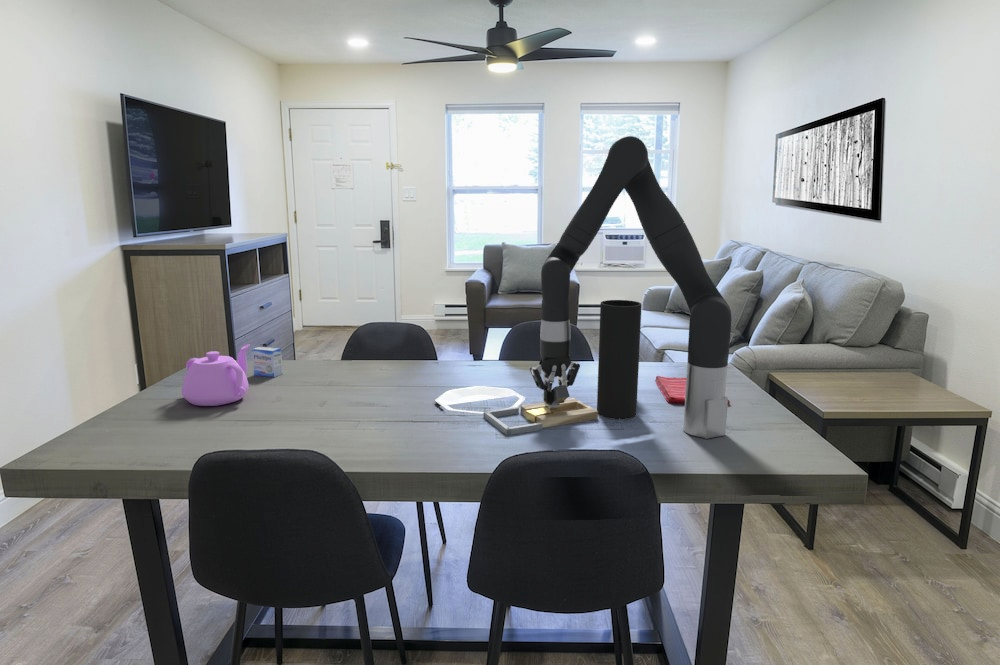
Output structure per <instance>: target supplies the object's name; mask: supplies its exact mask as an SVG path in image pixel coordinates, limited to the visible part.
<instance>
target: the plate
mask: <svg viewBox="0 0 1000 665" xmlns="http://www.w3.org/2000/svg"><path fill="white" fill-rule="evenodd" d="M509 397H517V398H518V400H517V401H516V402H514V404H513V405H512V406H510V407H509V408H513V407H518V408H519V407H521V405H522V403H524V401H525V400H526V397H525V396H523V395H522V394H520V393H518V392H517V391H514V390H512V389H511V388H506V387H493V386H486V385H485V386H483V385H475V386H474V385H473V386H468V387H467V386H466V387H461V388H454V389H449V390H446V391H445V392H444V393H442V394H441V395H439V396H438V397H437V398H435V399H434V400H435V403H436V404H438V405H439V406H440V407H443V409H444V408H445V410H447V411H448V412H458V413H465V414H466V413H467V414H475V415H484V412H485V411H476V410H475V411H474V410H465V409H457V408H456V409H455V408H452V407H451V405H457V404H465V403H471V402H481V401H485V400H493V399H494V400H495V399H500V398H501V399H502V398H509ZM500 409H501V408H500ZM500 409H498V410H500ZM504 409H506V408H504Z"/></svg>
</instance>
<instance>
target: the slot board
mask: <svg viewBox="0 0 1000 665" xmlns="http://www.w3.org/2000/svg"><path fill="white" fill-rule="evenodd" d="M559 406H560V407H558V408H557V409H556V410H553V411H555V413H554V414H547V415H541V416H537V423H542V429H543V428H550V427H556V426H563V425H567V424H574V423H581V422H587V421H593V420H598V419H599V415H598V411H597V409H595V408H593V407H592V406H589V405H588V404H585V403H584V402H582V401H580V400H579V399H576V398H575V397H572V398H570V397H569V398H567V399H566V400H564V403H560V404H559ZM544 407H545V404H544V401H543V402H537V403H529V404H520V414H521V415H523V417H525V418H526V411H528V410H533V409H539V408H544Z"/></svg>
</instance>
